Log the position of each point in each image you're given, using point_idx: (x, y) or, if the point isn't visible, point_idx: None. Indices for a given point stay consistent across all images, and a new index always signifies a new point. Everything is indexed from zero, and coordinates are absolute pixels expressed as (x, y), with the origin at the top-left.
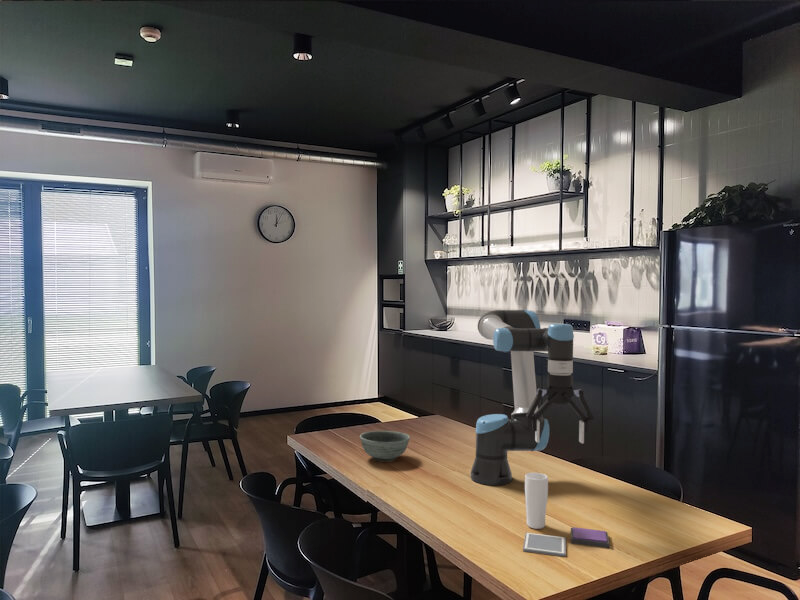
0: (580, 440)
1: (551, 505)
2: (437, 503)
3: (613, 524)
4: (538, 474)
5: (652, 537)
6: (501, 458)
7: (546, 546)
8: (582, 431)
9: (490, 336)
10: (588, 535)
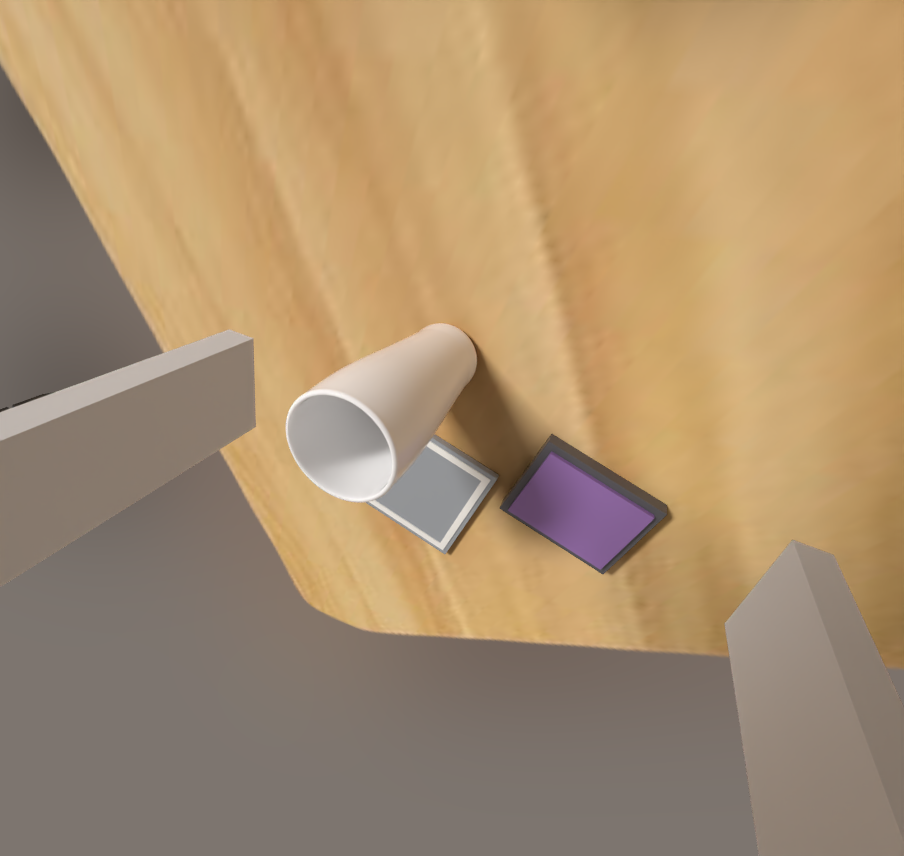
0: (754, 615)
1: (646, 119)
2: (120, 25)
3: (798, 432)
4: (368, 407)
5: (853, 574)
6: None
7: (414, 503)
8: (769, 808)
9: None
10: (565, 520)
